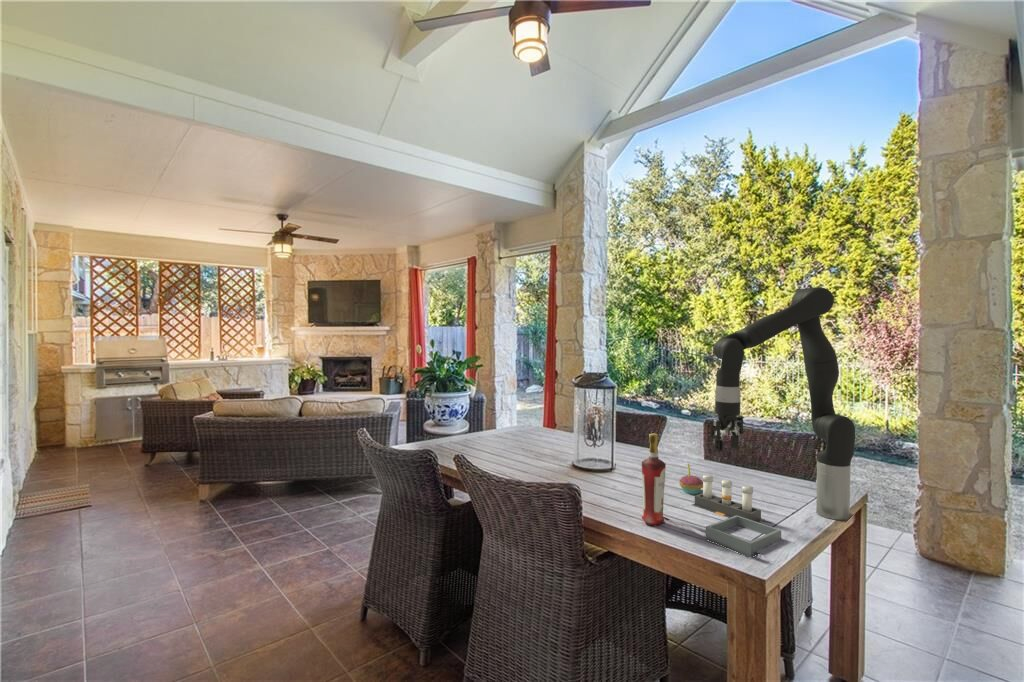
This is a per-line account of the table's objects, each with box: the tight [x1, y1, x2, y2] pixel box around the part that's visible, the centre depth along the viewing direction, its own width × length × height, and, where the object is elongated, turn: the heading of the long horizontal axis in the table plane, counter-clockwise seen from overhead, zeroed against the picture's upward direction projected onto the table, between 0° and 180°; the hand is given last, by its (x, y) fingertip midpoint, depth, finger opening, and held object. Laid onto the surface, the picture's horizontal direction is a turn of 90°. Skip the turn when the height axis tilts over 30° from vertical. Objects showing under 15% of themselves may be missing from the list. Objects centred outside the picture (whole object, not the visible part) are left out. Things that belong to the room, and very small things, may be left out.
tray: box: [705, 515, 782, 558], centre depth 142 cm, size 16×14×4 cm
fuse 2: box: [741, 485, 754, 513], centre depth 155 cm, size 3×3×10 cm
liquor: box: [641, 433, 667, 526], centre depth 156 cm, size 7×7×28 cm
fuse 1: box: [702, 474, 714, 500], centre depth 167 cm, size 3×3×10 cm
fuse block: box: [691, 492, 765, 523], centre depth 161 cm, size 8×21×4 cm, turn 34°
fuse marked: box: [721, 479, 733, 506], centre depth 161 cm, size 3×3×10 cm
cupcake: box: [678, 462, 703, 495], centre depth 181 cm, size 9×8×12 cm
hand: (727, 449), depth 161 cm, fingers open, 8 cm apart
